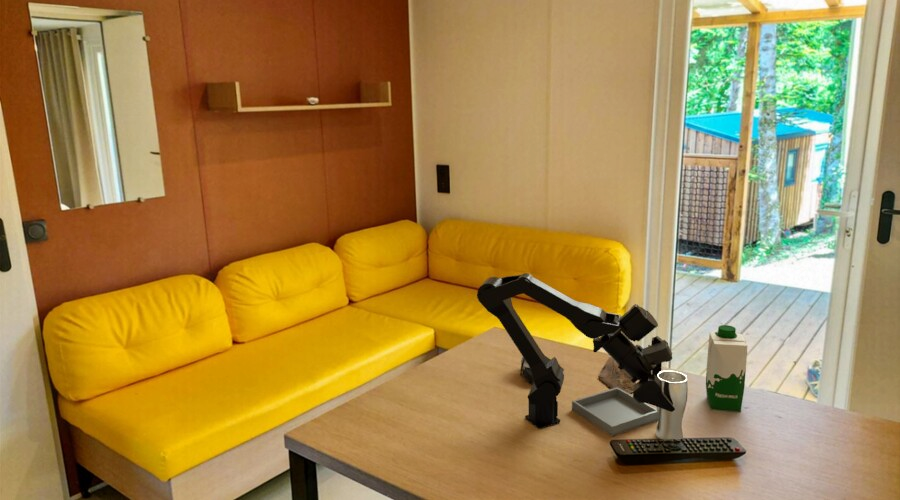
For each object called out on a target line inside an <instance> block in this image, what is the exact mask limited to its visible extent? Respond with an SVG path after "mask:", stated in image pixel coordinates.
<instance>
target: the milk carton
mask: <svg viewBox="0 0 900 500" xmlns="http://www.w3.org/2000/svg"><path fill="white" fill-rule="evenodd" d="M736 331H737V330H736V327H734V326H732V325H728V324H727V325H726V324H723V325H722V324H721V325H719V326H718V329H717V331H716V332H712V331H711V332H709V336H708V337H709V338H708V347H707V357H706V358H707V359H706V373H705V375H706V376H705V388H706V391H705V392H706V399H707V401H708V405H709V407H710V410H711V411H722V412H735V413H741V411H742V405H743V400H744V392H745V383H746V372H747V358H748V344H747V341H746V340H745V338H744V336H743V335H742V333H736Z"/></svg>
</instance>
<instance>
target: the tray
mask: <svg viewBox="0 0 900 500" xmlns="http://www.w3.org/2000/svg"><path fill="white" fill-rule="evenodd" d="M571 410H572V411H573V412H574V413H575V414H577V415H579V416H580V417H582V418H583V419H584V420H587V421H588V422H590V423H591V424H592V425H593V426H595V427H597V428H598V429H600V430H602V431H603V432H604V433H606V434H608V435H609V436H611V437H614V436H617V435H620V434H622V433H625V432H629V431H631V430H634V429H637V428H640V427H643V426H646V425H650V424H652V423H655V422H658V414H657V407H655V406H653V405H651V404H647V403H638V402H637V401H636V400H635V399H634V398H633V394H631V395H630V394H629V393H627V392H625V391H623V390H621V389H620V388H618V387H617V388H613V389H611V388H610V389H608V390H604V391H600V392H597V393H594V394H591V395H587V396H585V397H584V396H583V397H581V398H578V399H574V400H572V401H571Z"/></svg>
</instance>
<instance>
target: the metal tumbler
mask: <svg viewBox="0 0 900 500" xmlns="http://www.w3.org/2000/svg"><path fill="white" fill-rule="evenodd" d="M657 377H658V379H659V380H660V382H662V391H663V393H664V394H665V395H666V397H667V398H668V399H669V401H670V402H671V403H672V405H673V406H674V408H675V410H674V411H673V412H670V411H667V410H665V409H662V408H659V407H657V406H655V408H656V409H657V414H658V421H657V425H656V428H655V436H656V438H658V439H659V438H660V439H678V438H683V439H684V434H683V418H684V413H685V411H686V407H687V402H688V394H689V393H688V391H689V390H688V376H687V375H686V374H684V373H682V372H680V371H676V370H662V372H659V373H658V374H657ZM660 439H659V440H660Z"/></svg>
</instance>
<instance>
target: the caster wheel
mask: <svg viewBox="0 0 900 500" xmlns="http://www.w3.org/2000/svg"><path fill="white" fill-rule="evenodd" d="M520 363H521V364H520V365H521V366H520V373H519V376H521V375H524V378H525V380H526V381H527V382H529V383H530V384H532V385H533V383H534V381H533V378H532V374H531V370H530V367H529V365H528V364H527V362H526V360H525V359H524V357H523V356H522V357H521V361H520Z"/></svg>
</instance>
